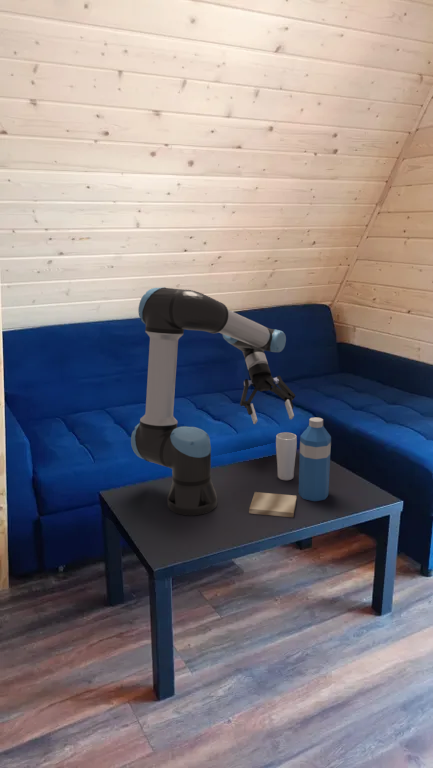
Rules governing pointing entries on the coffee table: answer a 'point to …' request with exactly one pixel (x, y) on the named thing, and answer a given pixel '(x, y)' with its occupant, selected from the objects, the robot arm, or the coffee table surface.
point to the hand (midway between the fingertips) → (274, 420)
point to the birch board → (273, 504)
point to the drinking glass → (286, 455)
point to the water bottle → (314, 461)
